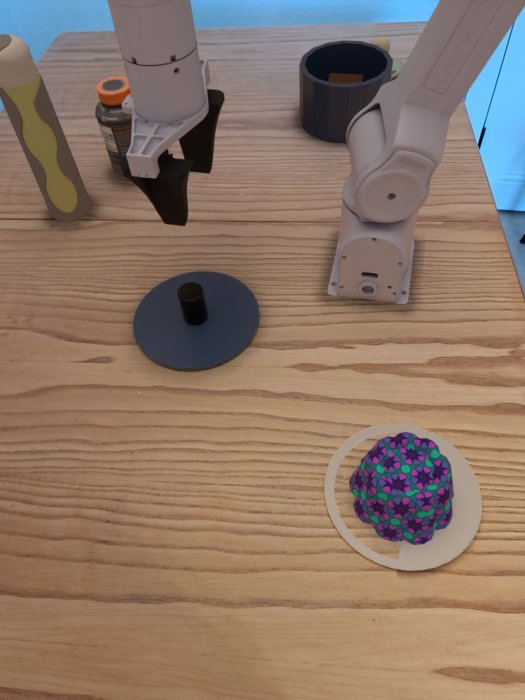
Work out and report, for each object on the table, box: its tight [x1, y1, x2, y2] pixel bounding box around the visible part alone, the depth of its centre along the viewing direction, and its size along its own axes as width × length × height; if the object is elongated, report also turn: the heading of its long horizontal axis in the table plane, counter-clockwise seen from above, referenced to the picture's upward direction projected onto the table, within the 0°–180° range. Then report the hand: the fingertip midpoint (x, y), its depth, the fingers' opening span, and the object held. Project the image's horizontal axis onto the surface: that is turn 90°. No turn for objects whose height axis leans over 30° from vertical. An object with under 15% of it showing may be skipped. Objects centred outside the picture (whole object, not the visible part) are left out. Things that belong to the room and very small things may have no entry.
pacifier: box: [369, 36, 405, 80], centre depth 81 cm, size 7×6×6 cm
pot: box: [298, 39, 394, 144], centre depth 74 cm, size 11×11×8 cm
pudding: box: [323, 422, 483, 572], centre depth 43 cm, size 12×12×5 cm
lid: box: [132, 270, 260, 372], centre depth 55 cm, size 12×12×5 cm
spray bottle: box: [0, 33, 92, 223], centre depth 61 cm, size 5×5×20 cm
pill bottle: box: [94, 75, 132, 182], centre depth 68 cm, size 6×6×11 cm
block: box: [327, 73, 364, 84], centre depth 75 cm, size 4×4×4 cm
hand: (188, 195), depth 54 cm, fingers open, 7 cm apart
